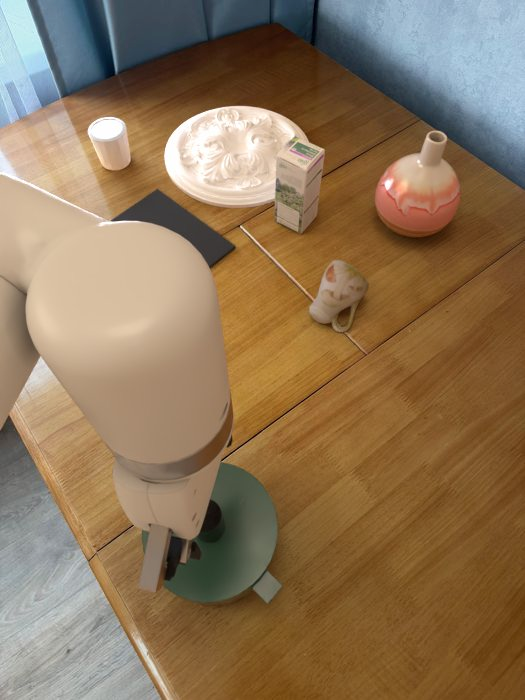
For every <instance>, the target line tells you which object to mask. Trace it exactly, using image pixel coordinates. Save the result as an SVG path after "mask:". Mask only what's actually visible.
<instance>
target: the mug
mask: <svg viewBox="0 0 525 700" xmlns="http://www.w3.org/2000/svg"><path fill="white" fill-rule="evenodd" d="M369 286H370V283H369V281H368V279H367V277H365V276H364V274H363V273H362V272H361V271H360V270H359V269H358V268H356V267H355V266H353V265H352V264H350V263H348V262H347V261H345V260H341V259H335V260H332V261H331V262H330V263H329V264H328V266H326V268H325V270H324V272H323V274H322V277H321V281H320V284H319V289H318V293H317V295H316V297H315V298H314V300H313V302H312V303H311V304H310V305H309V308H308V309H309V310H308V311H309V315H310V317H311V318H312V319H313V320H314V321H316V322H317V323H319V324H330V323H331V327H332V329H333V330H334V331H335V332H336V333H345V332H347V331H349V330H350V328H351V327H352V324H353V322H354V319H355V314H356V310H357V307H358V306H359V304H360V301H361V299H362V298H363V297H364V296H365V295H366V293H367V291H368V290H369V288H370V287H369ZM349 307H350V310H349V317H348V321H347V324H345V326H340V325H339V324H338V321H337V320H338V317H339V314H340V312H342V311H343V310H345V309H347V308H349Z"/></svg>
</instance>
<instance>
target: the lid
mask: <svg viewBox="0 0 525 700" xmlns="http://www.w3.org/2000/svg"><path fill="white" fill-rule="evenodd" d="M171 536H174V537H178V536H176V535H175V534H173V533H172V535H171ZM278 536H279V521H278V515H277V511H276V507H275V503H274V501H273V498H272V497H271V495H270V494H269V492H268V490H267V489H266V487H265V486H264V484H262V482H261V481H260V480H259V479H258V478H257V477H255V476H254V475H253V474H252V473H250V472H249V471H248V470H246V469H244V468H242V467H240V466H237V465H235V464H231V463H228V462H222V461H221V462H220V466H219V469H218V473H217V477H216V480H215V483H214V487H213V490H212V494H211V497H210V500H209V504H208V507H207V511H206V514H205V518H204V521H203V524H202V527H201V530H200V532H199V534H198V535H197V536H196V537H195V538H193V539H192V541H194V542H196V543H197V545H198V546H199V548H200V550H201V553H202V554H201V558H200V560H196V559H192V558H189V560H188V563H187V564H186V565H182V564H178V566H177V568H176V573H175V576H174V577H172V579H171V580H170V581H166V580H165V581H164V585H163V586H162V587H164V588H165V589H166V590H168V591H169V592H171V593H172V594H173V595H174V596H177V597H179V598H180V599H183V600H185V601H190V602H194V603H196V602H199V603H214V602H221V601H225V600H228V599H231V598H233V597H236V596H238V595H240V594H241V593H243V592H245V591H246V590H247V589H249V588H250V587H251V586H253V585H254V584H255V583H256V582H257V581H258V580H259V579H260V577H261V576H262V575H263V573H264V572H265V571H266V569H267V570H268V568H267V567H269V566H270V564H271V563H272V559H273V557H274V554H275V552H276V547H277V545H278ZM148 537H149V532H148V531H144V530H142V529H141V544H142V545H141V546H142V551H143V555H144V556H145V551H146V546H147V541H148ZM178 538H180V537H178Z"/></svg>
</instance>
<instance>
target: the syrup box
mask: <svg viewBox="0 0 525 700" xmlns="http://www.w3.org/2000/svg"><path fill="white" fill-rule="evenodd" d="M325 152H326V149H324V148H322V147H320V146H318V145H316V144H313V143H311V142H310V141H309V142H307V141H304V140H302V139H300V138H298V137H296V136H295V137H293V138H292V139H291V140H290V141H289V142H288V143H287V144H286V145H285V146H284V147H283V148H282V149H281V150H280V151H279V153H278V154H277V155H276V183H275V201H274V222H275V223H277V224H280V225H281V226H283V227H286V228H287V229H289V230H291V231H293V232H295V233H297V234H299V235H301V234H303V233H304V231H305V230H306V229H307V228H308V227H309V226H310V225H311V223H312V222H313V221H314V220H315V218H316V217H317V216H318V211H319V201H320V200H319V199H320V198H319V197H320V192H321V183H322V176H323V170H324V162H325Z"/></svg>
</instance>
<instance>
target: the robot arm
mask: <svg viewBox="0 0 525 700" xmlns="http://www.w3.org/2000/svg"><path fill="white" fill-rule="evenodd" d="M218 294H219V293H218V290H217V286H216V282H215V278H214V275H213V272H212V270H211V268H209V266H208V264H207V263H206V261H205V259H204V258H203V256H202V255H201V254H200V252H199V251H198V250H197V249H196V248H195V247H194V246H193V245H192V244H191V243H190V242H189V241H188V240H186V239H185V238H183V237H182V236H181V235H179V234H177V233H175V232H173V231H171V230H169V229H167V228H165V227H162V226H159V225H155V224H152V223H147V222H140V221H117V222H112V221H111V219H108V218H105V217H102V216H100V215H98V214H96V213H94V212H90V211H88V210H86V209H84V208H82V207H79V206H78V205H75V204H74V203H72V202H69V201H68V200H65V199H63V198H61V197H59V196H57V195H55V194H53V193H52V192H49V191H47V190H45V189H43V188H41V187H38V186H36V185H34V184H33V183H30V182H28V181H25V180H23V179H21V178H19V177H16V176H14V175H11V174H8V173H6V172H2V171H0V431H1V430H2V428H3V427H4V425H5V423H6V421H7V419H8V417H9V416H10V413H11V411H12V410H13V408H14V406H15V404H16V402H17V401H18V398H19V397H20V395H21V393H22V391H24V388H25V386H26V384H27V382H28V380H29V379H30V377H31V375H32V373H33V371H34V369H35V367H36V365H37V364H38V362H39V360H40V359H42V360H43V362H44V363H45V364H46V366H47V367H48V369H49V370H50V371H51V373H52V374H53V376H54V377H55V378H56V379H57V381H58V382H59V384H60V385H61V387H62V388H63V389H64V390H65V392H66V393H67V395H68V396H69V397H70V399H71V400H72V402H73V403H74V404H75V406H76V407H77V408H78V409H79V411H80V412H81V414H82V415H83V416H84V418H85V420H87V422H88V423H89V425H90V426H91V427H92V428H93V430H94V431H95V432H96V434H97V436H98V437H99V438H100V439H101V441H102V442H103V444H104V445H105V446H106V447H107V449H108V450H109V452H110V454H112V456H113V457H114V459H113V466H112V471H111V472H112V480H113V486H114V490H115V494H116V496H117V500H118V502H119V504H120V506H121V508H122V510H123V512H124V514H125V515H126V517H127V518H128V520H129V522H130V523H131V524H132V525H133V526H134V527H135V528H136V529H139V530H141V531H142V530H144V531H148V532H149V537H148V541H147V546H146V551H145V555H144V557H143V562H142V566H141V570H140V576H139V581H138V587H137V588H138V589H139V590H142V591H146V592H151V593H155V594H157V593H158V592H159V591H160V590H161V588H163V587H164V586H163V585H164V581H165V580H166V581H170V580H171V579H172V577H174V576H175V573H176V568H177V566H178V564H182V565H186V564H187V563H188V560H189V558H192V559H196V560H200V558H201V554H202V553H201V550H200V548H199V546H198V545H197V543H196V542H194V541H192V539H193V538H195V537H196V536H197V535H198V534H199V532H200V530H201V527H202V524H203V521H204V518H205V514H206V511H207V507H208V504H209V500H210V497H211V494H212V490H213V487H214V483H215V480H216V477H217V473H218V469H219V466H220V462H222V457H223V455H224V452H225V450H226V449H228V448H230V447H231V446H232V444H233V431H234V423H235V422H234V421H235V415H234V407H233V400H232V399H233V398H232V392H231V391H232V390H231V383H230V378H229V377H230V376H229V370H228V369H229V368H228V361H227V355H226V348H225V347H226V346H225V339H224V332H223V325H222V324H223V323H222V317H221V308H220V302H219V295H218ZM172 533H173V534H175V535H176V536H178V537H180V538H178V537H174V536H171V535H172Z"/></svg>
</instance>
